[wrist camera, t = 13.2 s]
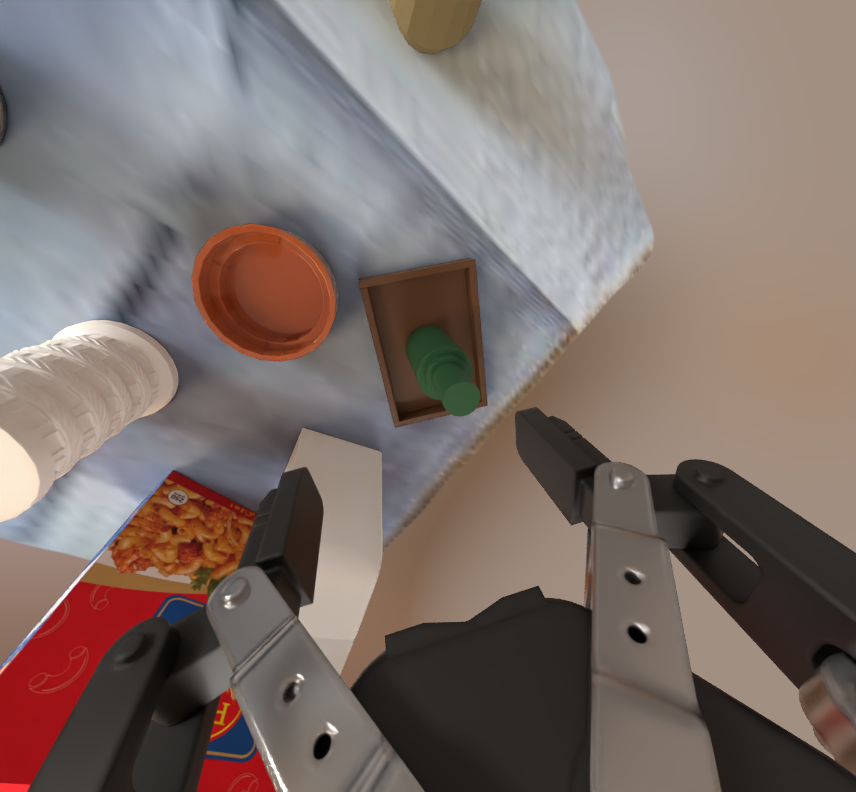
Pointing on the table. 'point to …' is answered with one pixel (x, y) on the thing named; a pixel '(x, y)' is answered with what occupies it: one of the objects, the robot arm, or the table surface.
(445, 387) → the bottle
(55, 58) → the table surface
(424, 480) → the table surface
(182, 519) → the pasta box
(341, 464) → the milk
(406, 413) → the tray
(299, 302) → the bowl
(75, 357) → the decorative container
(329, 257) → the table surface
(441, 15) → the squeeze bottle
